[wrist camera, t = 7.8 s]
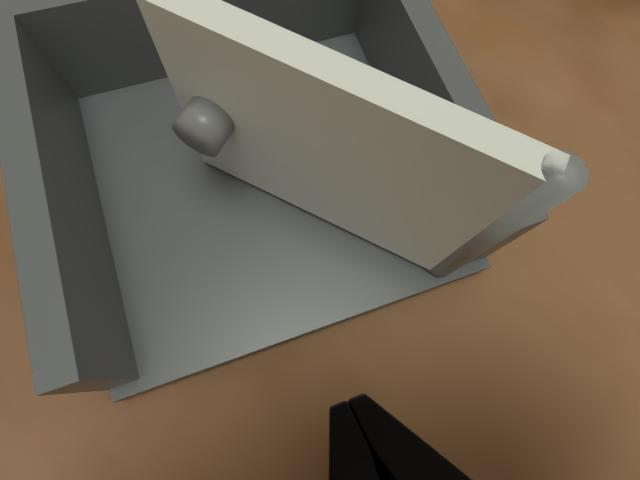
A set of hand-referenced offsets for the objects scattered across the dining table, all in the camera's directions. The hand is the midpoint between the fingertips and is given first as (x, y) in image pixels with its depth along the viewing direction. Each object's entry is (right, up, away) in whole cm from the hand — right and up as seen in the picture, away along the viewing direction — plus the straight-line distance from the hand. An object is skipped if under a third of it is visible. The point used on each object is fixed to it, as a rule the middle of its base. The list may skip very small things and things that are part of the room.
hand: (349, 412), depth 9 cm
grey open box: (-4, +8, +12) cm, 15 cm away
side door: (-1, +5, +10) cm, 11 cm away
